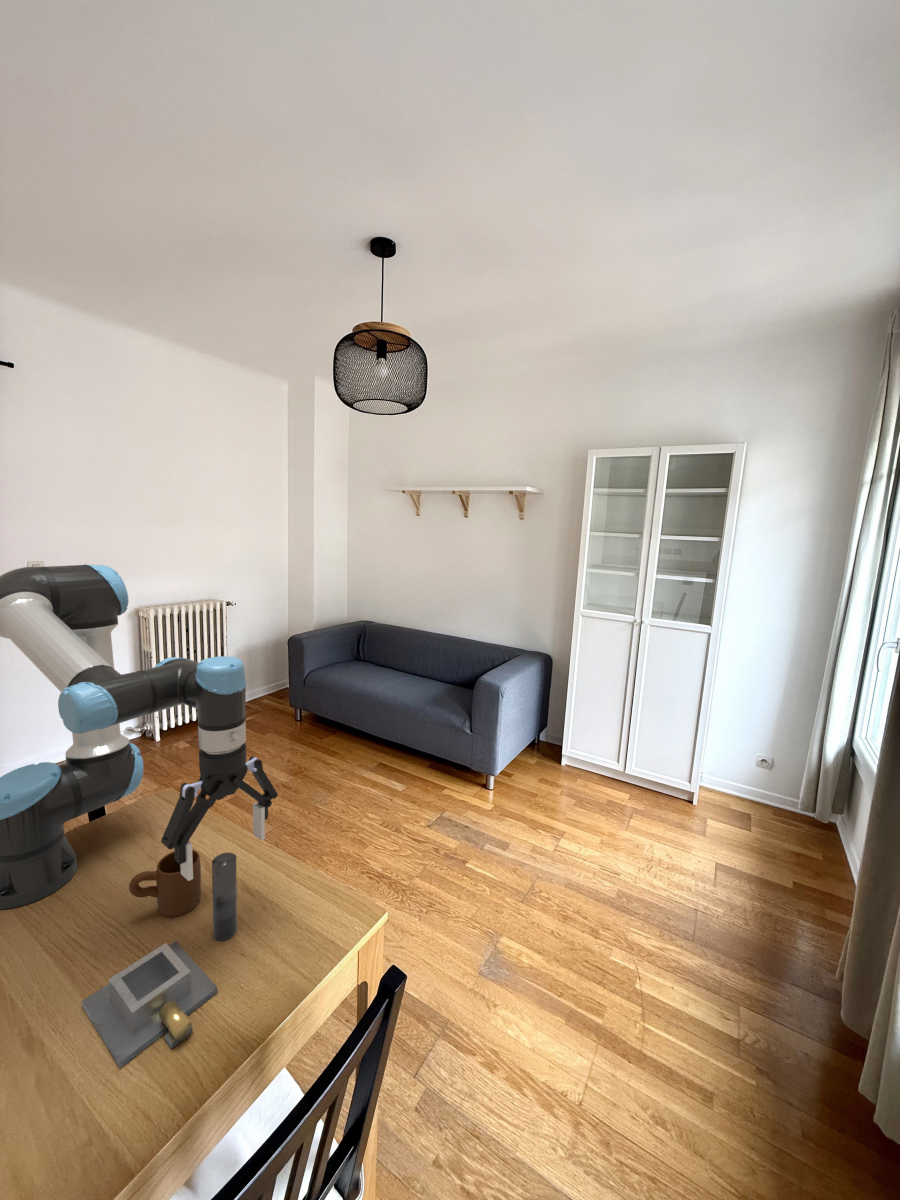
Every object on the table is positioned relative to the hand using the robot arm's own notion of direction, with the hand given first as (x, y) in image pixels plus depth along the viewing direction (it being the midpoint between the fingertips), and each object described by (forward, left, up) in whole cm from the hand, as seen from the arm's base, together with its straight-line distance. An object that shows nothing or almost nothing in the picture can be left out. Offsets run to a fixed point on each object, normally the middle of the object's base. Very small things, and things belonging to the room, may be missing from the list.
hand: (225, 855), depth 87 cm
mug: (-14, -4, -16) cm, 22 cm away
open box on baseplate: (+4, -14, -16) cm, 22 cm away
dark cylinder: (0, 0, -16) cm, 16 cm away
